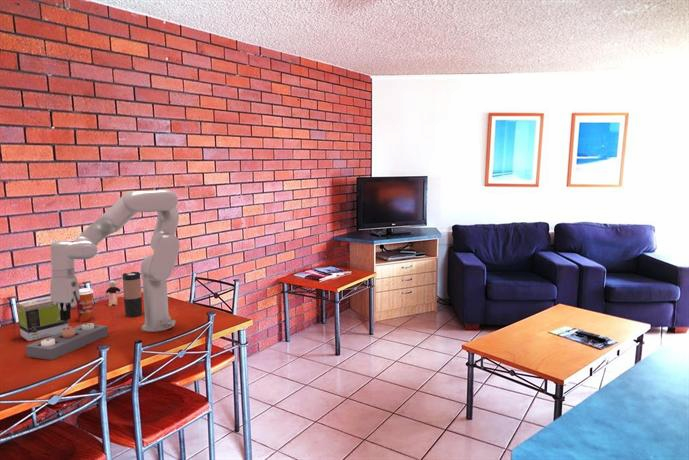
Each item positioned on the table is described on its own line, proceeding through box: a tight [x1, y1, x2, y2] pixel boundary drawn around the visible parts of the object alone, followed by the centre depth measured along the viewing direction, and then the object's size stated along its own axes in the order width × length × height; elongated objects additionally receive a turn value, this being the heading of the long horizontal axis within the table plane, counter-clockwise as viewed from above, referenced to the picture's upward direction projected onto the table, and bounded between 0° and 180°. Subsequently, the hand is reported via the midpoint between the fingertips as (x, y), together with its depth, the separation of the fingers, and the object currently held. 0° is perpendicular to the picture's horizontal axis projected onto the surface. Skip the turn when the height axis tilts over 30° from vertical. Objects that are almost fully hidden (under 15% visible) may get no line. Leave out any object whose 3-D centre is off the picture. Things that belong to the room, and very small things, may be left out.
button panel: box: [25, 323, 109, 361], centre depth 179 cm, size 12×26×4 cm, turn 163°
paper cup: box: [76, 287, 94, 323], centre depth 210 cm, size 8×8×14 cm
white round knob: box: [41, 338, 55, 347], centre depth 170 cm, size 4×4×4 cm
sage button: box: [81, 322, 95, 331], centre depth 187 cm, size 4×4×4 cm
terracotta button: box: [62, 326, 76, 339], centre depth 179 cm, size 4×4×4 cm
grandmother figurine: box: [104, 280, 122, 307], centre depth 233 cm, size 8×4×13 cm, turn 132°
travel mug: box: [122, 271, 143, 318], centre depth 216 cm, size 8×8×20 cm
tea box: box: [16, 296, 70, 342], centre depth 191 cm, size 15×10×15 cm
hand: (65, 319), depth 177 cm, fingers closed
